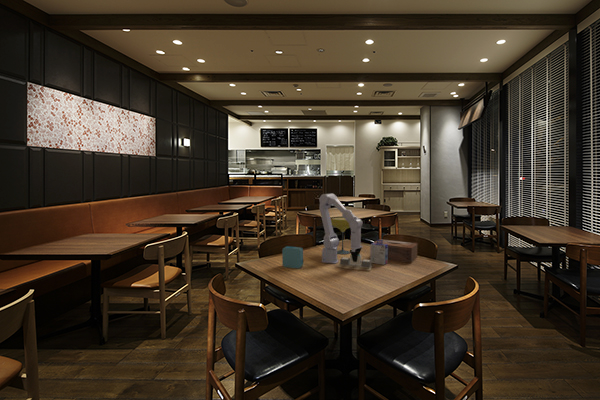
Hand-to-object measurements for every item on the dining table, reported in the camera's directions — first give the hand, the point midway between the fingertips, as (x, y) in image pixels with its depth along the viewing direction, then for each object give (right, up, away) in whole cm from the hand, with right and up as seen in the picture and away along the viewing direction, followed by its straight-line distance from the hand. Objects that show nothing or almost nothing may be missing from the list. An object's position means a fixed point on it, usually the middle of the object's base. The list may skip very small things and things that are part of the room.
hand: (355, 260), depth 186 cm
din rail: (0, -4, 0) cm, 4 cm away
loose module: (0, -2, 0) cm, 2 cm away
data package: (-38, -4, +2) cm, 39 cm away
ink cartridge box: (+16, -3, +9) cm, 19 cm away
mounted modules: (0, -2, 0) cm, 2 cm away
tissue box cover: (+30, -3, +21) cm, 37 cm away
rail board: (0, -4, 0) cm, 4 cm away
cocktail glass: (-3, -1, +35) cm, 35 cm away
